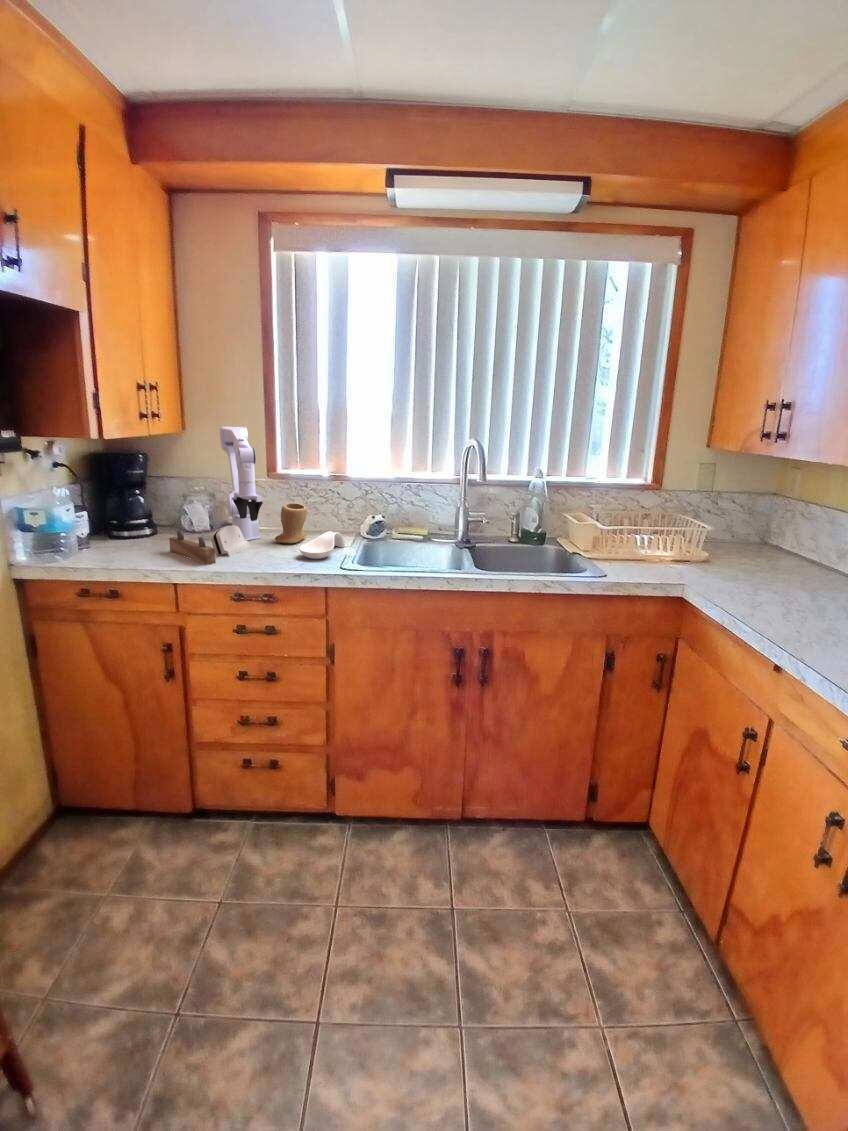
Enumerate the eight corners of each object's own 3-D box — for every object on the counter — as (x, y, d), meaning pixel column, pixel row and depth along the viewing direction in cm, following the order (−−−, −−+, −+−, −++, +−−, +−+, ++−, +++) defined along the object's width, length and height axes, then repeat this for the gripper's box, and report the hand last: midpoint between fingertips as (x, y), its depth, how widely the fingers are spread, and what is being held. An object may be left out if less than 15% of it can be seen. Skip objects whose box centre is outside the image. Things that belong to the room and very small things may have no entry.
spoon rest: (324, 563, 190) (323, 542, 188) (293, 559, 194) (292, 539, 192) (353, 548, 212) (353, 530, 210) (325, 545, 215) (324, 527, 214)
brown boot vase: (300, 546, 212) (299, 507, 208) (270, 544, 214) (269, 505, 210) (315, 538, 226) (314, 501, 222) (287, 536, 228) (286, 499, 224)
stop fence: (178, 550, 199) (176, 528, 197) (215, 563, 185) (214, 539, 183) (170, 551, 197) (168, 529, 195) (207, 564, 182) (205, 540, 180)
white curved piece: (229, 556, 193) (218, 529, 191) (217, 560, 194) (206, 533, 192) (250, 546, 209) (240, 520, 207) (239, 549, 210) (229, 524, 208)
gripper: (225, 480, 203) (227, 518, 206) (248, 484, 194) (250, 523, 197) (242, 479, 208) (244, 516, 212) (266, 483, 199) (267, 521, 203)
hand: (248, 519), depth 205 cm, fingers open, 6 cm apart
